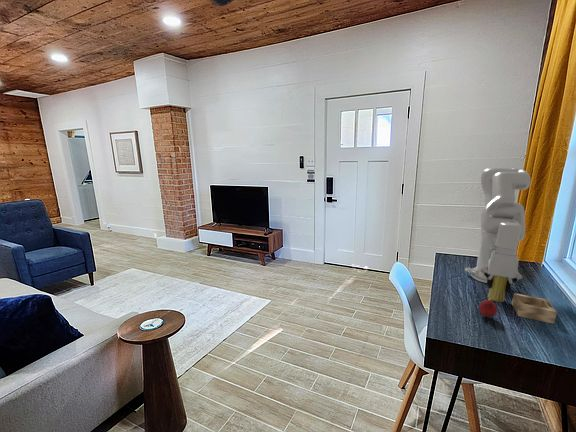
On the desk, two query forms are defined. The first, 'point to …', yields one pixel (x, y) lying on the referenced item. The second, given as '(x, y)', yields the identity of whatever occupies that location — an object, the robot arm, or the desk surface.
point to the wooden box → (534, 308)
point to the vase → (498, 288)
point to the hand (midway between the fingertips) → (497, 288)
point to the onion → (488, 308)
